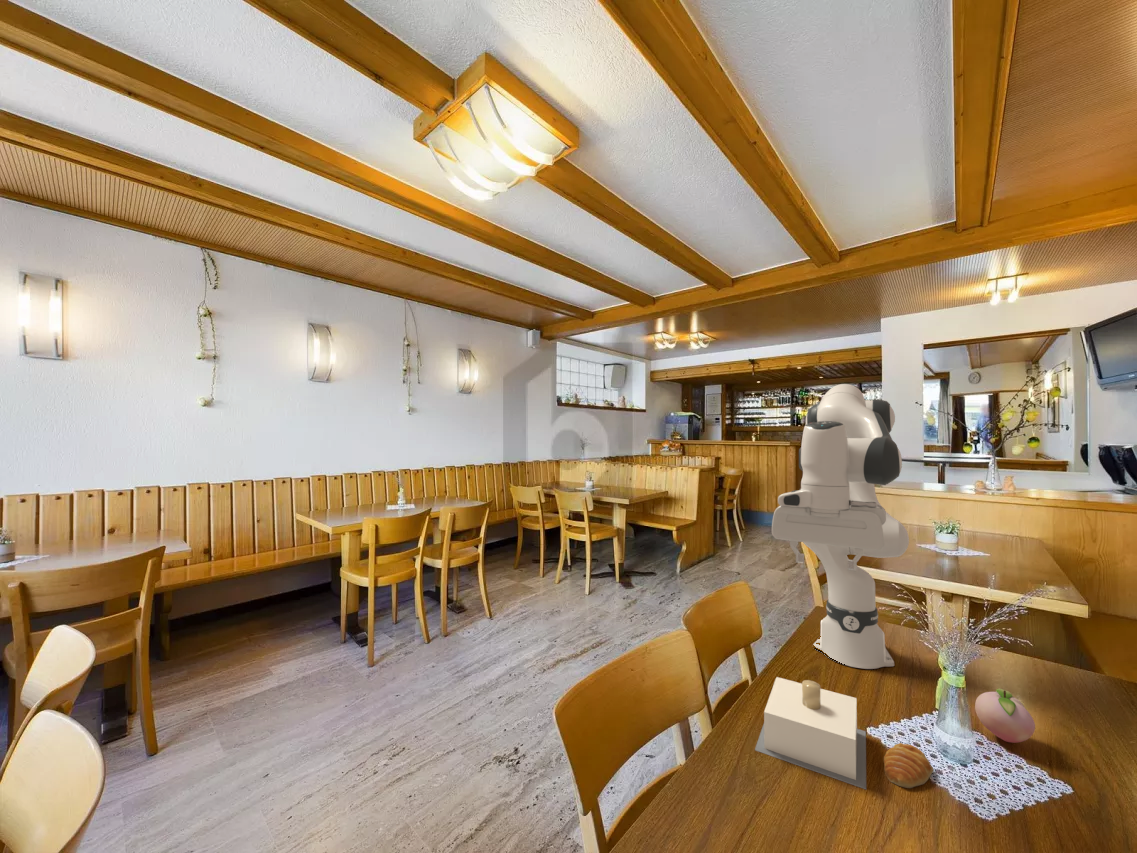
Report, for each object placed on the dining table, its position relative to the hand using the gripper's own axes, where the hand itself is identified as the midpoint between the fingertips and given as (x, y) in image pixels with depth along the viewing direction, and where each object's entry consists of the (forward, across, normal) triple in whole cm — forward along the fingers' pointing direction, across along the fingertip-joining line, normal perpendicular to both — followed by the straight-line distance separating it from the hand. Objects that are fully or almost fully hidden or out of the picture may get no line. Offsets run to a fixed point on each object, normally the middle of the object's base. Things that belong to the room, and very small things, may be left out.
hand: (825, 566), depth 94 cm
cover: (+34, +2, +4) cm, 34 cm away
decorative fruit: (+34, -30, -17) cm, 48 cm away
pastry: (+35, -13, +4) cm, 37 cm away
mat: (+34, +2, +4) cm, 34 cm away
